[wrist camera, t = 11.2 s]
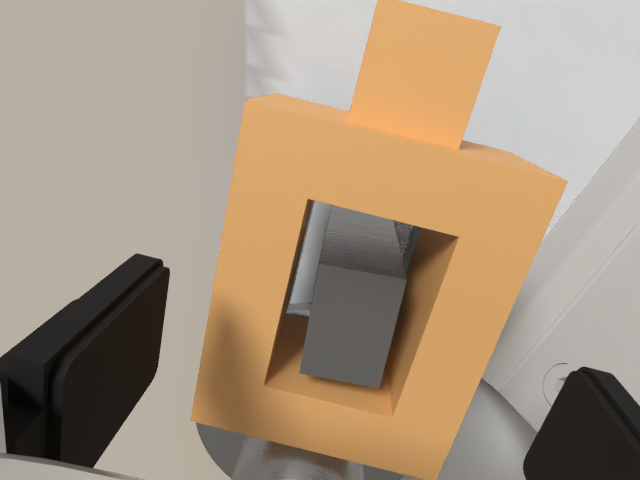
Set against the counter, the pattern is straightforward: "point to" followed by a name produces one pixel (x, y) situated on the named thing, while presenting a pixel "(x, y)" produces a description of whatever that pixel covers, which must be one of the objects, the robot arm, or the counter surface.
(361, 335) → the grey rectangular bar
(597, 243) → the white curved casing
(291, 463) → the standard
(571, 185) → the counter surface
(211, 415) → the bracket
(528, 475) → the robot arm
